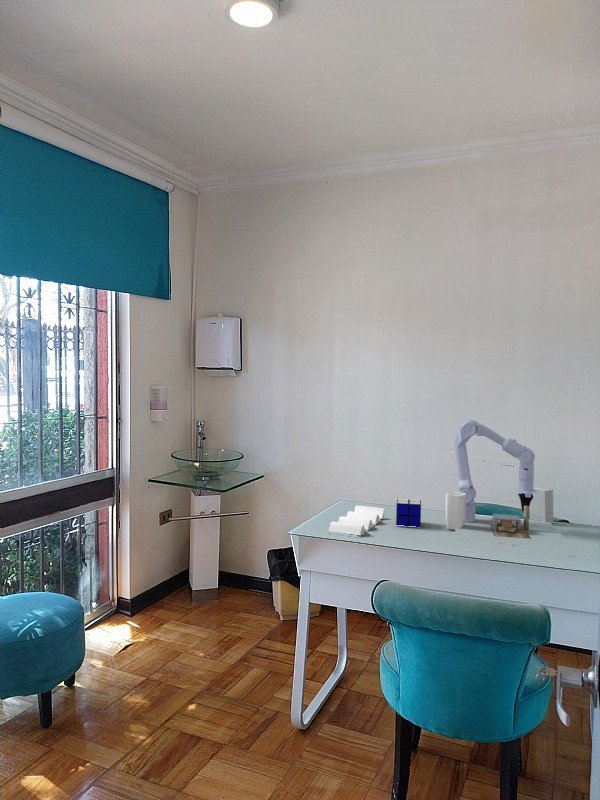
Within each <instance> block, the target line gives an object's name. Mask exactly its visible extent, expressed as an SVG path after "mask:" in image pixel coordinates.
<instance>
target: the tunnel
mask: <svg viewBox="0 0 600 800" xmlns="http://www.w3.org/2000/svg"><path fill="white" fill-rule="evenodd" d="M501 520H505V521H512V522H515V525H517V527H518V528H521V526H522V524H521V523H522V519H521V518H520V516H519V515H518V514H517V515H516V514H515V515H514V514H504V513H503V514H501V513H500V514H499V513H492V521H491V524H492V527H493V530H494V532H497V523H498V521H501Z"/></svg>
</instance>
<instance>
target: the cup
mask: <svg viewBox="0 0 600 800" xmlns="http://www.w3.org/2000/svg"><path fill="white" fill-rule="evenodd" d="M465 506H466V494H465V493H460V492H459V491H448V492H447V493H445V525H446V529H447V530H448V529H450V530H449V531H454V530H455V531H456V529H461V528H464V524H465V522H464V517H465Z"/></svg>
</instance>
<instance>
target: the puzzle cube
mask: <svg viewBox="0 0 600 800" xmlns="http://www.w3.org/2000/svg"><path fill="white" fill-rule="evenodd" d="M395 511H396V512H395V513H396V516H395V517H396V518H395V526H396V525H404V526H416V527H420V528H421V523H422V522H421V521H422V520H421V519H422V518H421V517H422V513H421V512H422V500H421V499H413V498H410V499H409V498H397V499H396V510H395Z"/></svg>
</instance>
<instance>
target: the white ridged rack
mask: <svg viewBox="0 0 600 800" xmlns="http://www.w3.org/2000/svg"><path fill="white" fill-rule="evenodd" d="M383 517H384V518H385V508H384V507H376V506H375V507H373V506H367V505H366V506H365V505H355V506H354V511H351V510H349V511H348V510H347V513H346V516H342V515H340V516H339V518H338V521H331V522H330V525H329V528H328V531H330V532H338V533H344V534H350V535H357V536H360V535H362V534H363V533H364V532H365V531H366V530H365V529H367V530H368V529H369V528H370V527H371V526H373V523H374V524H375V523H376V522H378V521H379V520H380V518H383ZM363 535H364V534H363ZM363 535H362V536H363Z"/></svg>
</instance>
